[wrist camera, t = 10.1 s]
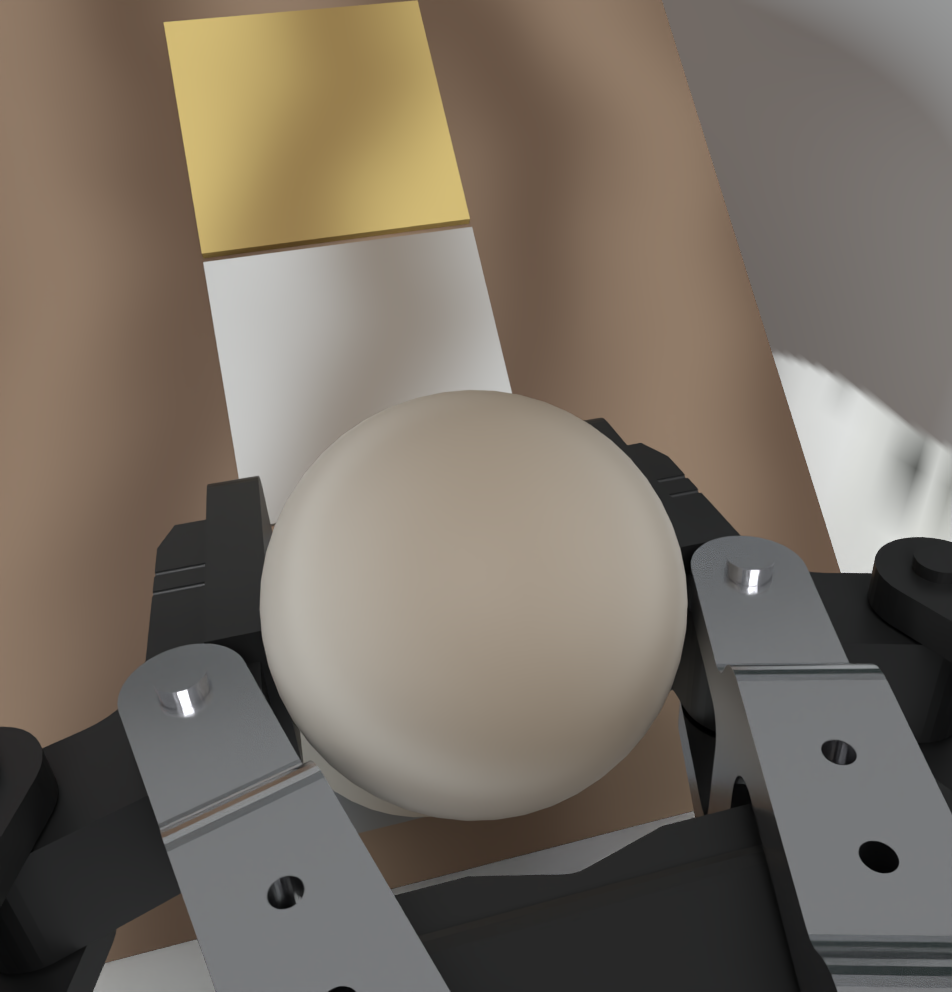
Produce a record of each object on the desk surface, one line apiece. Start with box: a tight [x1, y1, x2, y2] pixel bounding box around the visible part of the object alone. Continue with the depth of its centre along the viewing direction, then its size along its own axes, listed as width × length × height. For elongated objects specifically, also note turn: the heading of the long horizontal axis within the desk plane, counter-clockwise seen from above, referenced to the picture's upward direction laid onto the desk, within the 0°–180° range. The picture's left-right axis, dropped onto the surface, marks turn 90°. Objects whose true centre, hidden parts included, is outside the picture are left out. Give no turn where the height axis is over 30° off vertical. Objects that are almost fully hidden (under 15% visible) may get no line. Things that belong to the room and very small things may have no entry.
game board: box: [0, 0, 841, 963], centre depth 18 cm, size 26×22×3 cm
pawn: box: [260, 390, 688, 821], centre depth 12 cm, size 6×6×10 cm
